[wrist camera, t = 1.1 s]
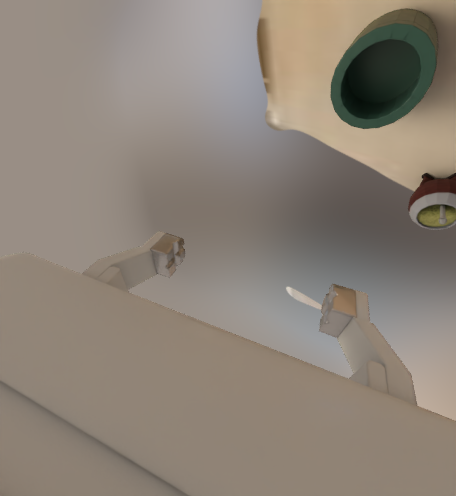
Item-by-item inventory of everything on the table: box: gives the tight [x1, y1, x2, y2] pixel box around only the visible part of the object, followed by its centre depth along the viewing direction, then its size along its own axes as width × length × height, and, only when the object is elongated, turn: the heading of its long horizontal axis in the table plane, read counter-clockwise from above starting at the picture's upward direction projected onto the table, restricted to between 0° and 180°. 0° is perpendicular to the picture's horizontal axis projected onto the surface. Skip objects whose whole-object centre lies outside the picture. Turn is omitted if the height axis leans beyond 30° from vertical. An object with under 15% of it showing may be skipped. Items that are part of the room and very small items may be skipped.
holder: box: [331, 9, 438, 129], centre depth 29 cm, size 10×10×8 cm
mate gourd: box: [408, 173, 456, 230], centre depth 34 cm, size 8×8×15 cm
